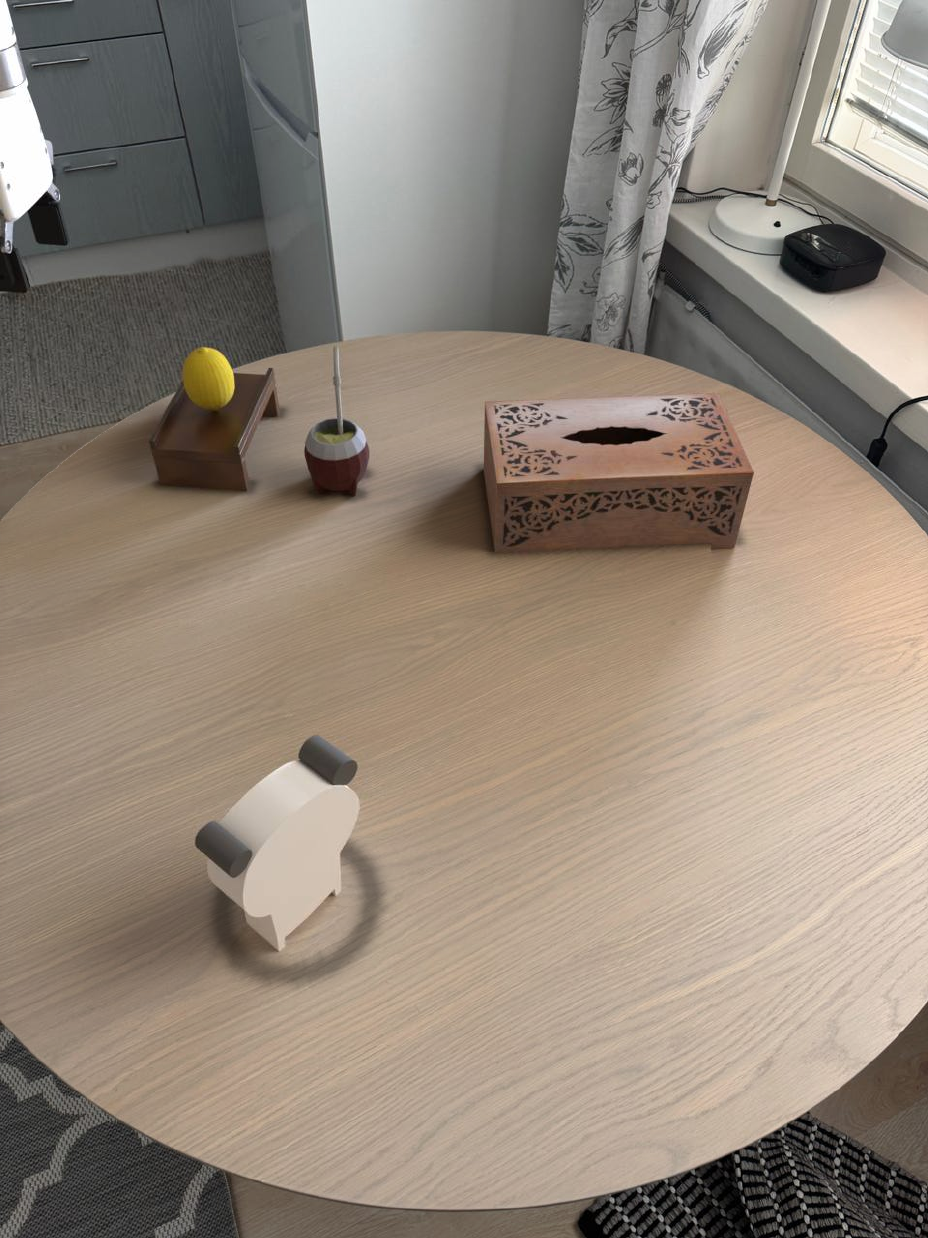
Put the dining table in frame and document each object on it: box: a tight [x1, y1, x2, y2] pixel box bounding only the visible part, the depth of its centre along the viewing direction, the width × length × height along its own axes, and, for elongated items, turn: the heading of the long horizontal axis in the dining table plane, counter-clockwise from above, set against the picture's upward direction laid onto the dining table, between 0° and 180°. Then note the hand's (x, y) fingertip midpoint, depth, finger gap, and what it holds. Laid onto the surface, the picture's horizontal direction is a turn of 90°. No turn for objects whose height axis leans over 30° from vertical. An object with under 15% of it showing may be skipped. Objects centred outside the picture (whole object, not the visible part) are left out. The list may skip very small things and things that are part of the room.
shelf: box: [148, 367, 281, 492], centre depth 116 cm, size 10×16×7 cm, turn 174°
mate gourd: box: [303, 345, 370, 497], centre depth 108 cm, size 8×8×15 cm
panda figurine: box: [194, 734, 361, 952], centre depth 72 cm, size 12×11×15 cm
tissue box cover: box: [483, 392, 755, 553], centre depth 107 cm, size 26×14×10 cm, turn 94°
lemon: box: [182, 346, 234, 411], centre depth 111 cm, size 6×6×8 cm
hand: (33, 266), depth 94 cm, fingers open, 9 cm apart
